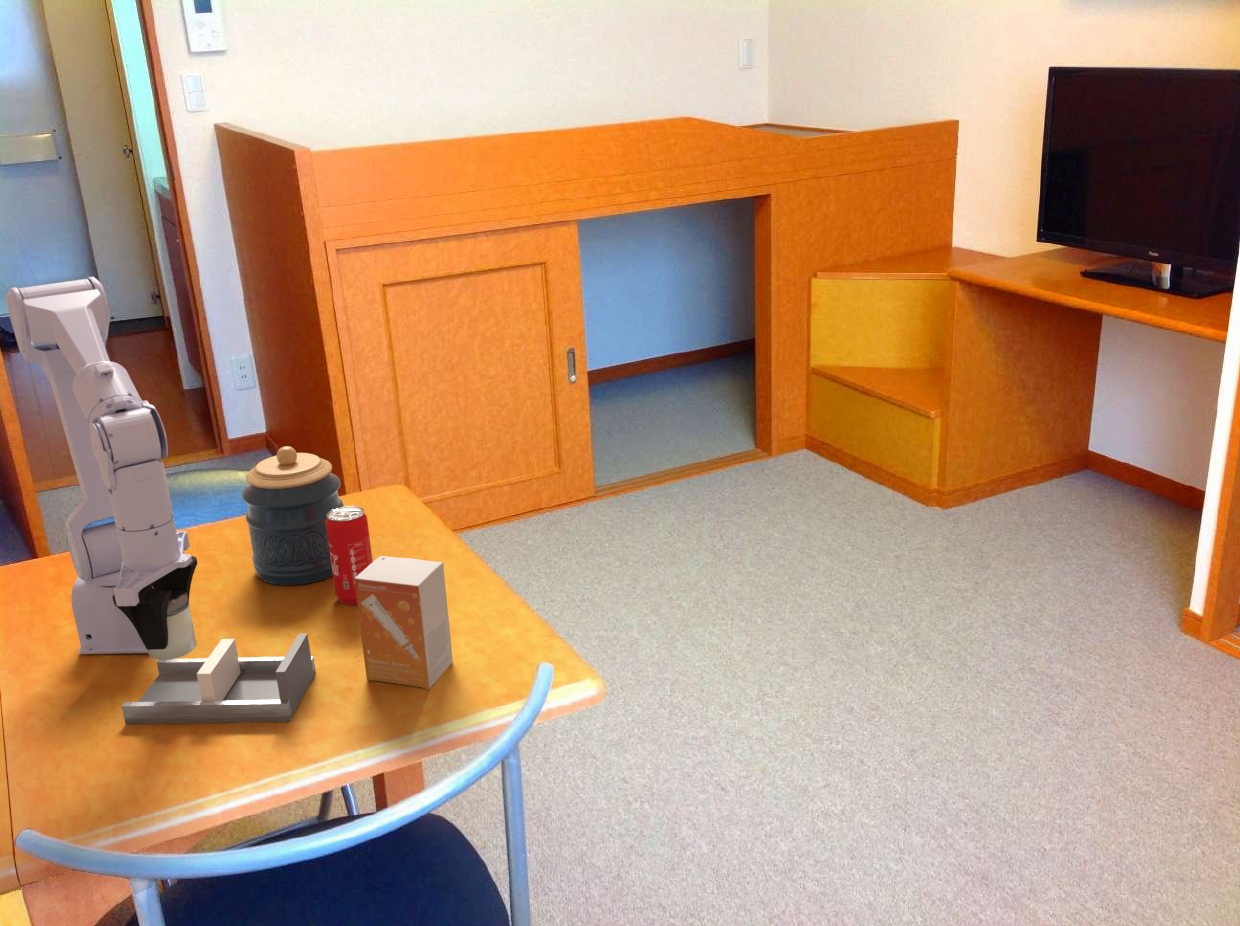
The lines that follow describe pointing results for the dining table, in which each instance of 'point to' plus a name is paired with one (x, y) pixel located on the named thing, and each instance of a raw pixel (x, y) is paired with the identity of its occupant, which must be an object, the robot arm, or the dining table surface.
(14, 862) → the dining table surface
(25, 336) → the robot arm
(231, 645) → the block
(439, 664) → the small box
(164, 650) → the cream jar with lid
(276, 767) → the dining table surface
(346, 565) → the beverage can
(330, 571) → the canister
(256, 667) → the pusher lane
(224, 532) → the dining table surface
